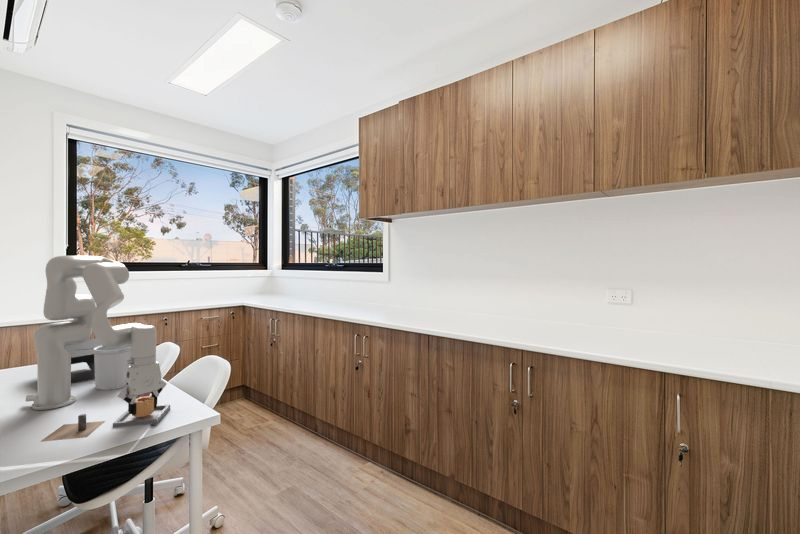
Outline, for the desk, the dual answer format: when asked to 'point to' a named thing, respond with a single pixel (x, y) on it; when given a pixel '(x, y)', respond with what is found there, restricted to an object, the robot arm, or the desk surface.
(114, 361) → the utensil holder
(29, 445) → the desk surface
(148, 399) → the collar
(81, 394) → the desk surface
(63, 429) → the base
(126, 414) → the tray
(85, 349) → the portable electronic device stand
